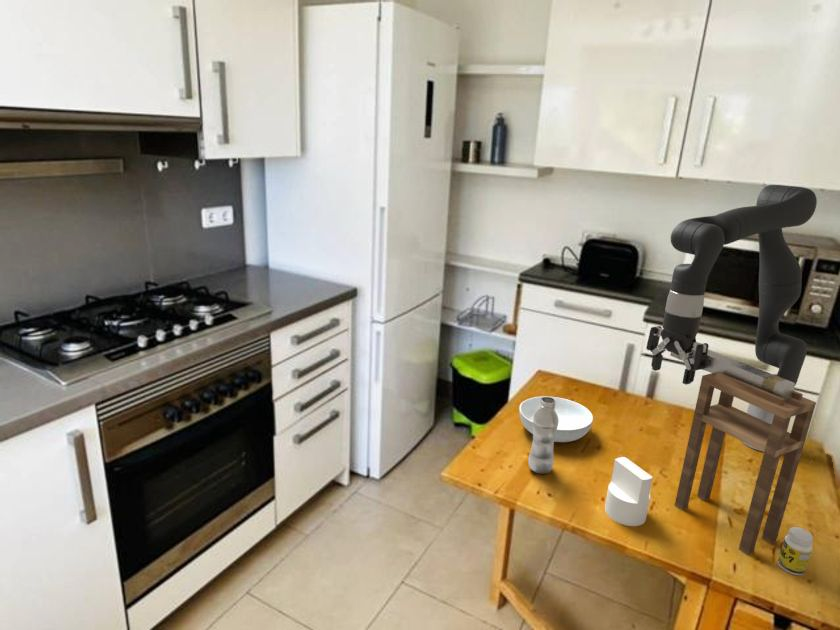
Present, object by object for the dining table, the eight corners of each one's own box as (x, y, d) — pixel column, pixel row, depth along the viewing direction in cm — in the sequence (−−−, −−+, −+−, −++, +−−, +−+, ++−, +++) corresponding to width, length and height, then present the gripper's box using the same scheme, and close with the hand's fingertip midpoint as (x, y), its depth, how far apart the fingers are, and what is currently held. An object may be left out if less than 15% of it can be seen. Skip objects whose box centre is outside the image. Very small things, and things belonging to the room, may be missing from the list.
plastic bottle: (555, 466, 144) (564, 397, 138) (549, 480, 138) (558, 408, 132) (530, 460, 146) (538, 391, 140) (524, 473, 140) (532, 402, 134)
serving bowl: (598, 428, 164) (601, 408, 162) (577, 460, 147) (580, 438, 145) (532, 408, 174) (534, 389, 172) (505, 436, 157) (507, 415, 155)
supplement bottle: (772, 559, 114) (781, 525, 112) (793, 558, 115) (803, 524, 112) (788, 576, 110) (799, 541, 107) (810, 575, 110) (821, 541, 108)
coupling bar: (680, 353, 132) (682, 339, 131) (791, 399, 110) (795, 383, 109) (670, 355, 130) (672, 341, 129) (780, 402, 109) (784, 386, 108)
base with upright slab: (596, 505, 129) (603, 461, 125) (626, 497, 132) (634, 453, 129) (624, 530, 121) (632, 483, 117) (654, 520, 125) (664, 475, 121)
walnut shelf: (702, 494, 135) (732, 363, 124) (776, 541, 120) (817, 396, 109) (674, 505, 130) (703, 370, 119) (747, 555, 115) (788, 406, 104)
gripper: (723, 318, 120) (708, 385, 125) (668, 300, 132) (657, 363, 137) (700, 322, 117) (686, 391, 122) (646, 304, 129) (635, 367, 134)
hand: (670, 376), depth 129 cm, fingers open, 8 cm apart
